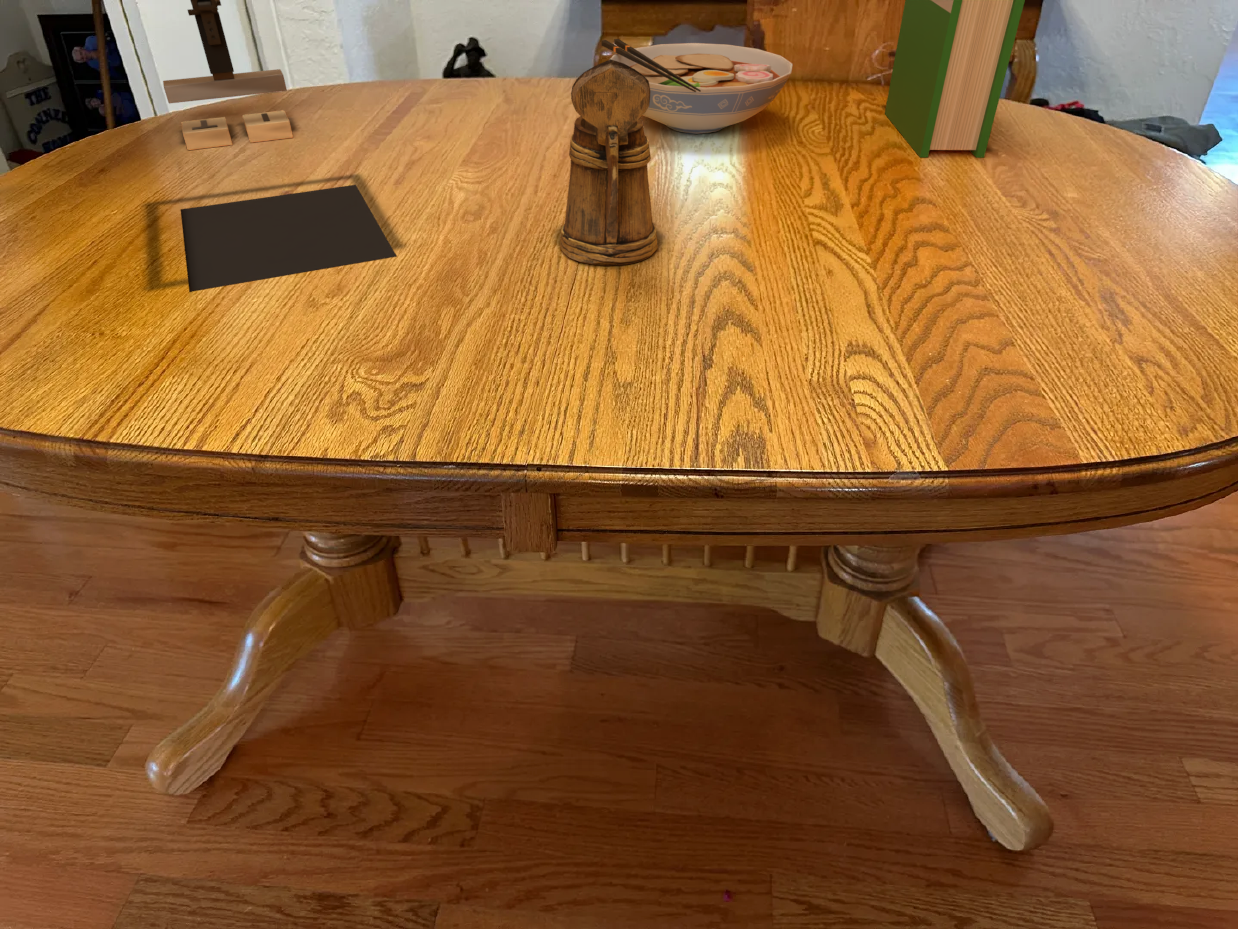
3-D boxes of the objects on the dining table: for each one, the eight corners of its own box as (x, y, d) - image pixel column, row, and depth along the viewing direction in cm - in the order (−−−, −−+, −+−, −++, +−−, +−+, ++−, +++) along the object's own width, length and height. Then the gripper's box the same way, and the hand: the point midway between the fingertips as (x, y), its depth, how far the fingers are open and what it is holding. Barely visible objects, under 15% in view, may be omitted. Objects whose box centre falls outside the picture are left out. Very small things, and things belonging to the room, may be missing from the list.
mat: (153, 214, 85) (153, 213, 85) (356, 185, 92) (355, 184, 92) (157, 298, 71) (156, 296, 71) (396, 257, 77) (396, 255, 77)
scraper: (168, 97, 107) (134, -11, 100) (284, 85, 111) (260, -20, 104) (168, 103, 105) (134, -7, 97) (287, 90, 109) (262, -16, 102)
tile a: (186, 138, 104) (180, 120, 103) (229, 133, 106) (224, 115, 104) (187, 150, 101) (182, 132, 99) (232, 145, 102) (227, 126, 101)
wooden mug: (557, 291, 72) (547, 60, 61) (561, 227, 82) (552, 21, 71) (663, 290, 72) (672, 59, 61) (653, 226, 83) (659, 20, 72)
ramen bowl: (826, 143, 103) (837, 70, 98) (652, 167, 96) (654, 90, 91) (730, 92, 121) (735, 28, 116) (578, 108, 114) (576, 42, 109)
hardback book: (984, 157, 99) (1047, -89, 84) (919, 157, 99) (972, -89, 84) (940, 113, 113) (989, -104, 98) (884, 113, 113) (924, -104, 98)
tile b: (246, 131, 106) (241, 113, 105) (288, 126, 108) (284, 109, 107) (250, 142, 103) (245, 124, 102) (293, 137, 104) (289, 119, 103)
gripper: (199, -164, 87) (259, 80, 102) (192, -168, 99) (247, 53, 113) (118, -163, 85) (191, 87, 99) (120, -167, 96) (186, 58, 111)
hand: (221, 68), depth 106 cm, fingers closed on scraper, 2 cm apart
